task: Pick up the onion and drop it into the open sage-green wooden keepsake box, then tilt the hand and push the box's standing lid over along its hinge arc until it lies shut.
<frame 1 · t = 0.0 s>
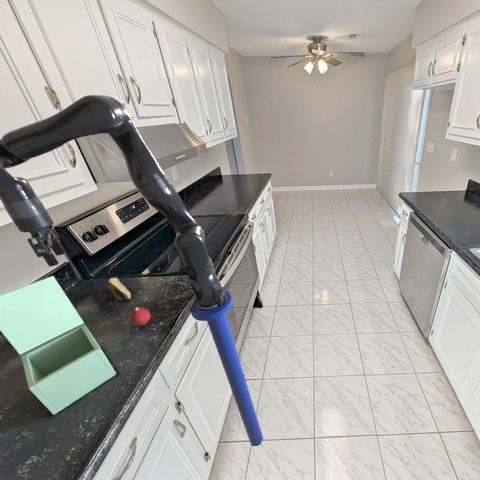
hand: (57, 259, 83), 28 cm above the worktop, tool pointing down, fingers open, 8 cm apart
onion: (144, 324, 93), on the worktop
rock: (125, 294, 110), on the worktop
chest: (80, 377, 75), on the worktop
lid: (37, 314, 71), point 20 cm above the worktop, hinge at 100.0°
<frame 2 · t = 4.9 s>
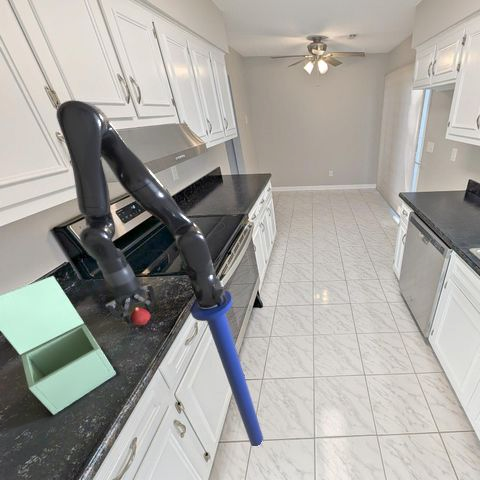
hand: (140, 316, 91), 4 cm above the worktop, tool pointing down, fingers closed on onion, 6 cm apart
onion: (144, 324, 93), on the worktop, touching gripper
everything else where it was.
when the fingers open (12 cm above the worktop, at t = 11.2 s): onion drops 7 cm, resting on chest.
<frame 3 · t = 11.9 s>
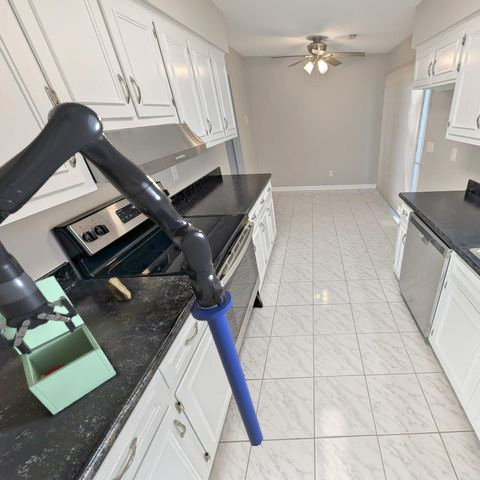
hand: (52, 341, 68), 15 cm above the worktop, tool pointing down, fingers open, 8 cm apart
onion: (76, 374, 74), point 2 cm above the worktop, touching chest
everything else where it was.
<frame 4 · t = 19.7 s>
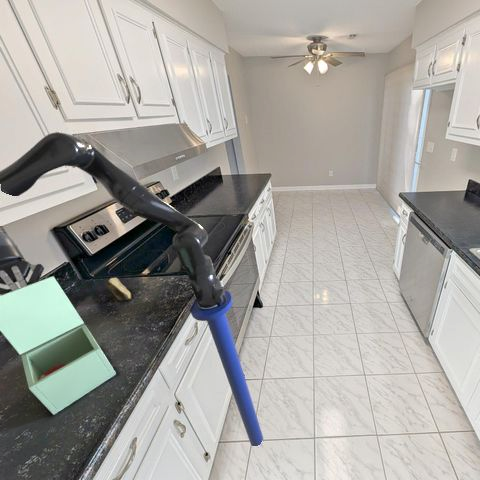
hand: (28, 301, 70), 23 cm above the worktop, tool tilted 45°, fingers closed
lid: (37, 314, 71), point 20 cm above the worktop, hinge at 98.3°
everything else where it was.
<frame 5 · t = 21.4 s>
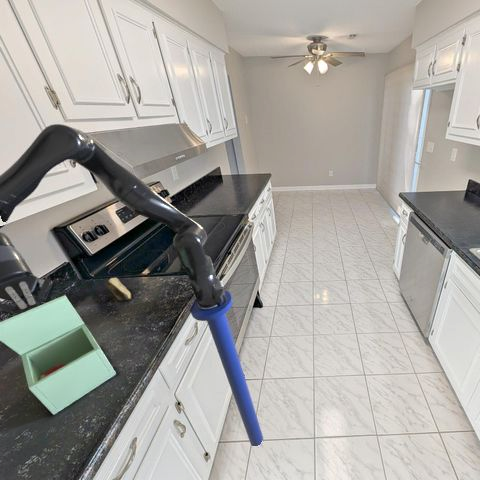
hand: (37, 319, 67), 21 cm above the worktop, tool tilted 45°, fingers closed
lid: (42, 325, 68), point 19 cm above the worktop, hinge at 59.3°, touching gripper
everything else where it was.
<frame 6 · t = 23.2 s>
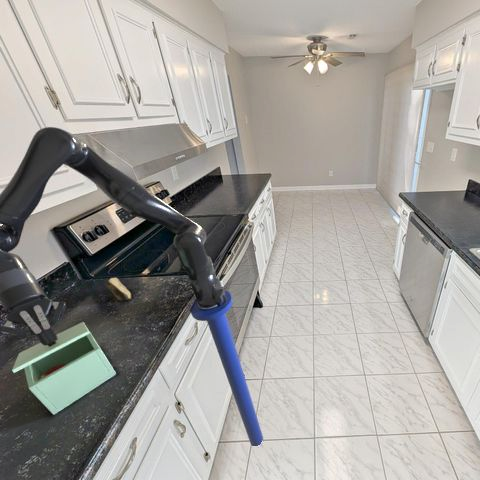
hand: (52, 344, 66), 16 cm above the worktop, tool tilted 45°, fingers closed
lid: (53, 343, 68), point 14 cm above the worktop, hinge at 19.7°, touching gripper
everything else where it was.
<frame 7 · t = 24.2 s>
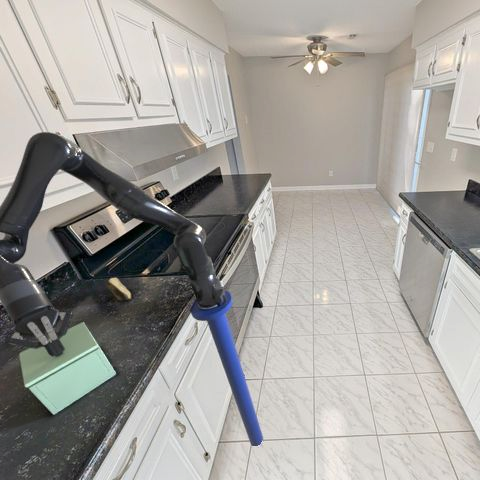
hand: (59, 354, 66), 13 cm above the worktop, tool tilted 45°, fingers closed
lid: (58, 350, 69), point 12 cm above the worktop, hinge at 3.8°, touching gripper
everything else where it was.
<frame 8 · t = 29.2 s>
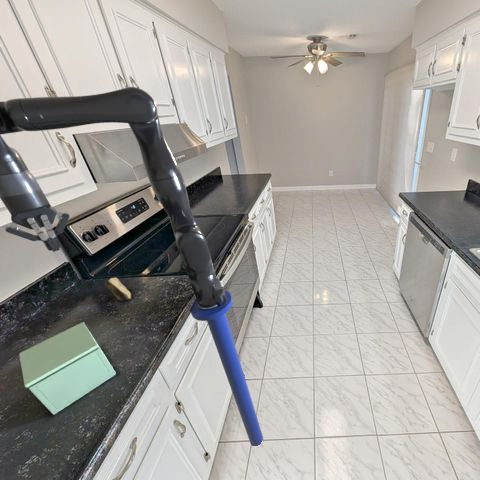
hand: (56, 250, 72), 35 cm above the worktop, tool pointing down, fingers closed
lid: (58, 350, 69), point 12 cm above the worktop, hinge at 3.7°
everything else where it was.
at the end: lid at +4° (first picture: +100°); onion inside the target area in the chest (0.3 cm from its centre), point 1.7 cm above the chest's base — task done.
